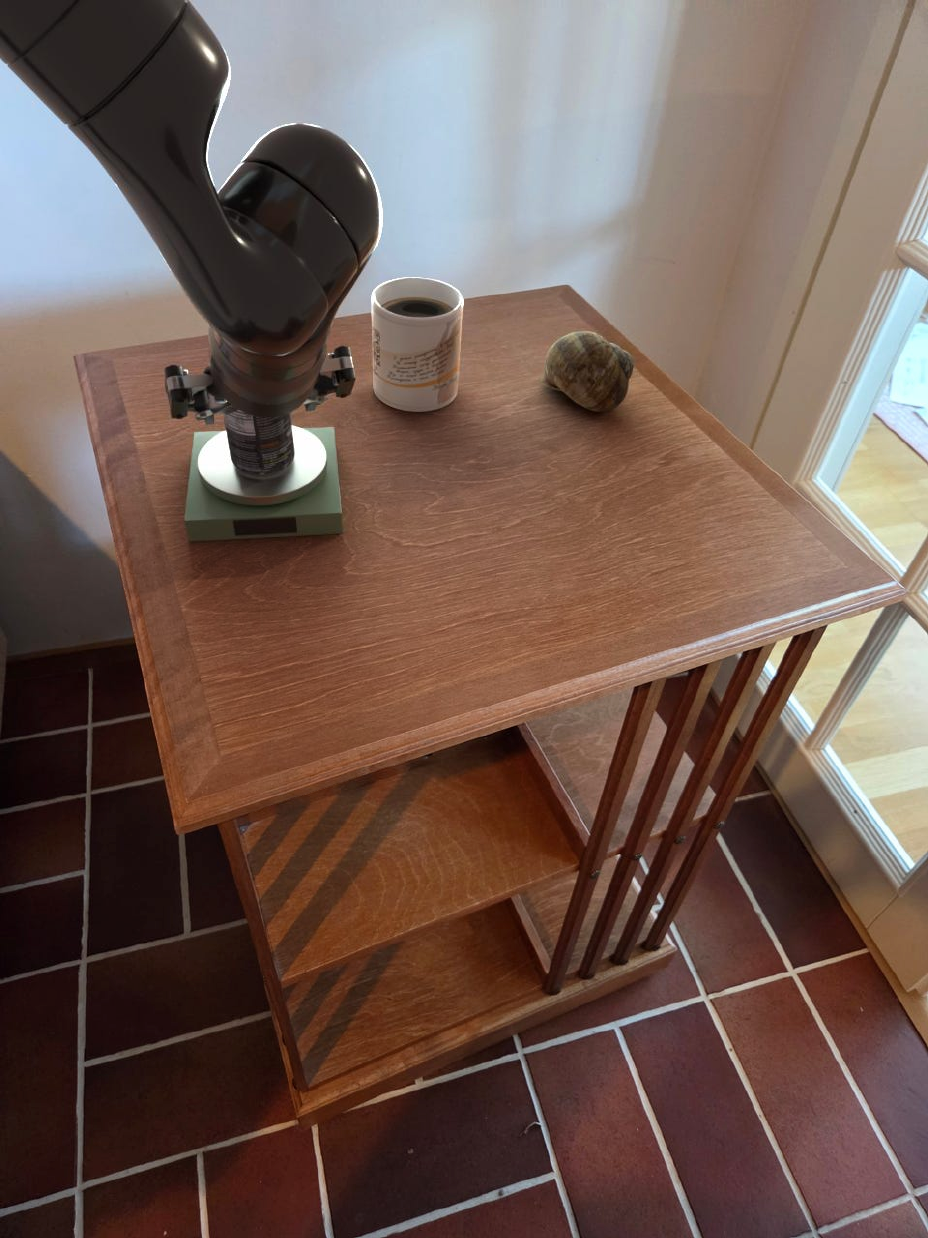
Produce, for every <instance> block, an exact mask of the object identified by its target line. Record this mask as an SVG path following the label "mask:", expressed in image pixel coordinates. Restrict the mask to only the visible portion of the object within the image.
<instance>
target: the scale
mask: <svg viewBox="0 0 928 1238" xmlns="http://www.w3.org/2000/svg"><path fill="white" fill-rule="evenodd" d="M292 433H293V442H294V450H295V456H294V459H293V461H292V463H291V464H290V465H289V466H288V467H286V468H285V469H283V470H281V471H279V472H276V473H273V474H267V475H254V474H249V473H246V472H243V471H241V470H239V469H238V468H237V467H235V465H234V464H233V463H232V460H231V456H230V450H229V445H228V439H227V433H226V430H217V431H213V430H212V431H194V432H193V438H192V447H191V455H190V466H189V474H188V475H189V476H188V482H187V489H186V490H187V492H186V499H185V500H186V501H185V510H184V516H183V517H184V518H183V522H184V527H185V531H186V535H187V540H188V542H191V543H192V542H193V543H195V542H210V541H211V542H212V541H213V542H214V541H228V540H229V541H231V540H246V539H247V540H248V539H265V538H283V537H285V538H286V537H300V536H301V537H303V536H322V535H323V536H324V535H337V534H338V535H339V534H344V527H343V512H342V511H343V510H342V499H341V488H340V487H341V486H340V477H339V476H340V475H339V465H338V455H337V453H338V452H337V442H336V430H335V427H334V426H329V427H327V426H326V427H325V426H324V427H302V428H301V427H298V426H295V425H292Z"/></svg>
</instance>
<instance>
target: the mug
mask: <svg viewBox="0 0 928 1238" xmlns="http://www.w3.org/2000/svg"><path fill="white" fill-rule="evenodd" d="M463 316H464V297H463V295H462V293H461V292H460V291H459V290H458V289H457V288H455V287H454V286H452V285H450V284H449V283H446V282H444V281H441V280H437V279H432V278H427V277H401V278H395V279H392V280H388V281H385V282H383V283H381V284H379V285H378V286H377V287H375V289H374V290H373V292H372V294H371V337H372V338H371V339H372V341H371V342H372V345H371V346H372V389H373V393H374V394H375V396H376V397H377V398H378V400H379V401H380V402H382V403H383V404H385V405H387V406H389V407H390V408H391V407H392V408H393V409H396V410H399V411H400V410H401V411H405V412H411V413H420V412H421V413H423V412H425V413H426V412H432V411H437V410H439V409H442V408H444V407H447V406H448V405H450V404H451V403H452V402H453V401H454V400H455V399H456V397H457V395H458V392H459V382H460V381H459V380H460V367H461V366H460V363H461V351H462V350H461V348H462V332H463Z"/></svg>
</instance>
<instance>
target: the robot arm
mask: <svg viewBox="0 0 928 1238" xmlns="http://www.w3.org/2000/svg"><path fill="white" fill-rule="evenodd" d="M0 60H1V61H2V63H4V64H6V66H7V67H8V68H9V69H10V70H11V71H12V72H13V73H14V75H16V77H18V78H19V80H20V81H21V82H22V83H23V84H24V85H25V86H26V87H27V88H28V89H29V90H30V91H31V92H32V93H33V94H34V95H35V96H36V97H37V98H38V99H39V100H40V101H41V102H42V103H43V104H44V105H45V106H46V107H47V108H48V109H49V110H50V111H51V112H52V113H53V114H54V115H55V116H56V117H57V119H59V120H60V121H61V123H62V124H64V125H66V126H67V128H68V129H69V131H70V132H71V133H72V134H74V136H75V137H76V138H77V139H78V140H79V141H80V142H81V143H82V144H83V145H84V146H85V147H86V148H87V149H88V150H89V152H90V153H91V154H92V155H93V157H95V159H96V161H98V163H99V164H100V166H102V168H103V169H104V170H105V171H106V173H107V174H108V176H109V177H110V179H111V180H112V181H113V183H114V184H115V186H116V187H117V188H118V190H119V191H120V193H121V194H122V196H123V197H124V198H125V200H126V202H127V203H128V205H129V206H130V207H131V209H132V210H133V212H134V214H136V216H137V218H138V219H139V220H140V222H141V224H142V225H143V227H144V229H145V230H146V231H147V233H148V235H149V236H150V238H151V240H152V241H153V243H154V245H155V246H156V248H157V250H158V251H159V253H160V255H161V256H162V258H163V260H164V261H165V263H166V265H167V267H168V268H169V270H170V272H171V274H172V275H173V277H174V278H175V280H176V282H177V283H178V285H179V287H180V289H181V290H182V291H183V293H184V294H185V296H186V297H187V299H188V300H189V302H190V303H191V305H192V306H193V307H194V309H195V310H196V312H197V313H198V314H199V315H200V317H201V318H202V319H203V320H204V321H205V322H206V323H207V324H208V331H207V334H208V349H209V350H208V351H209V364H208V365H207V366H205V368H204V369H203V373H197V374H190V373H189V371H188V369H183V367H182V366H181V365H176V364H170V365H169V366H166V367H164V389H165V393H166V394H167V399H168V404H169V411H170V417H171V419H176V420H182V419H184V418H186V417H188V414H189V412H191V413H192V412H193V413H194V416H195V419H196V420H197V421H204V422H205V425H215V415H223V414H226V415H228V414H230V413H232V412H235V411H237V410H240V411H242V412H244V413H247V414H249V415H252V416H256V417H262V418H273V417H279V416H283V415H286V414H289V413H290V414H291V413H293V412H294V411H296V410H297V409H299V408H300V407H301V406H303V405H304V408H305V411H306V412H313V411H316V409H317V406H319V405H322V404H323V403H324V402H327V401H328V400H329V395H331V394H335V397H336V398H340V399H345V398H347V397H349V396H350V395H351V394H352V391H353V388H354V385H355V383H356V373H355V368H354V362H353V358H352V353H351V348H350V347H349V346H345V345H339V346H338V347H336V348H334V349H333V353H327V348H328V340H329V337H330V334H331V331H332V327H333V324H334V319H335V317H336V315H337V313H338V311H339V309H340V307H341V305H342V304H343V302H344V301H345V299H346V297H347V296H348V294H349V293H350V292H351V290H352V289H353V287H354V285H355V284H356V282H357V280H358V279H359V278H360V275H361V274H362V273H363V271H364V269H365V267H366V266H367V264H368V263H369V261H370V259H371V258H372V256H373V254H374V252H375V250H376V248H377V246H378V243H379V240H380V238H381V233H382V228H383V207H382V200H381V196H380V192H379V189H378V186H377V183H376V181H375V178H374V177H373V176H374V175H373V174H372V172H371V170H370V168H369V167H368V165H367V164H366V162H365V160H364V159H363V158H362V156H361V155H360V154H359V153H358V152H357V150H355V148H354V147H352V145H350V144H349V143H348V142H347V141H346V140H345V139H343V138H342V137H340V136H339V135H337V134H336V133H334V132H332V131H331V130H329V129H326V128H323V127H321V126H318V125H315V124H308V123H289V124H284V125H280V126H278V127H275V128H272V129H271V130H270V131H268V132H267V133H266V134H264V135H263V136H261V137H260V138H259V139H258V140H257V141H256V142H255V144H253V146H252V147H251V148H250V150H249V151H248V152H247V153H246V155H245V156H244V157H243V158H242V160H241V161H240V162H239V164H238V165H237V167H236V168H235V169H234V170H233V172H232V173H231V174H230V176H229V177H228V178H227V179H226V181H225V183H224V184H223V185H222V186H221V188H220V189H219V190H218V191H217V189H216V186H215V183H214V181H213V177H212V174H211V171H210V167H209V163H208V152H209V143H210V139H211V136H212V133H213V130H214V127H215V124H216V122H217V119H218V116H219V114H220V111H221V109H222V106H223V103H224V101H225V99H226V96H227V93H228V89H229V87H230V82H231V81H230V80H231V65H230V62H229V58H228V56H227V53H226V50H225V49H224V47H223V45H222V44H221V42H220V40H219V39H218V37H217V36H216V34H215V33H214V31H213V30H212V28H211V27H210V25H209V24H208V23H207V22H206V21H205V19H204V17H203V16H202V15H201V14H200V13H199V11H198V10H197V9H196V7H195V6H194V5H193V3H192V2H191V1H190V0H0Z"/></svg>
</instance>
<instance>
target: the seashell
mask: <svg viewBox="0 0 928 1238" xmlns="http://www.w3.org/2000/svg"><path fill="white" fill-rule="evenodd" d="M635 365H636V364H635V361H634V358H633V355H631V354H630V353H629V352H628V351H626V350H624V349H622V348H621V347H620V346H619V345H617V344H615V343H614V342H613V343H612V342H608V341H607V340H606V339H605V338H604V337H603V336H602V335H601V334H598V333H596V332H594V331H591V330H589V331H588V330H579V331H573V332H570V333H567V334H565V335H563V336H561V337H560V338H559V339H557V340H556V341H555V342H554V343H552V344H551V347H550V348H549V349H548V351H547V353H546V356H545V359H544V366H543V369H544V370H543V371H544V372H543V373H542V375H541V378H540V381H541V383H542V384H543V385H544V386H546V387H547V388H549V389H551V390H552V389H553V390H555V391H560V392H563V393H564V394H565V395H566V396H567V397H568V398H570V399H571V400H572V401H573V402H575V403H576V404H578V405H579V406H581V407H582V408H584V409H586V410H589V411H592V412H609V411H611V410H613V409H615V408H617V407H618V406H620V405H621V404H622V402H624V400H625V399H626V397H627V394H628V392H629V384H630V379H631V377H632V375H633V373H634V368H635Z"/></svg>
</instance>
